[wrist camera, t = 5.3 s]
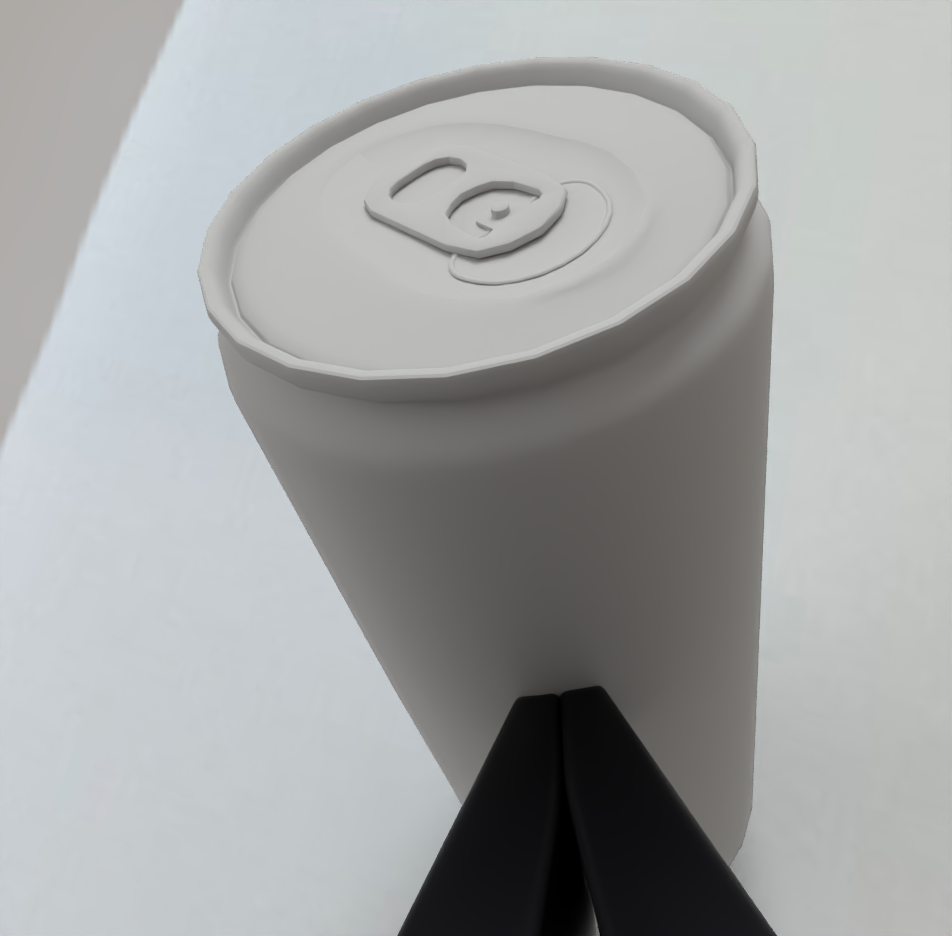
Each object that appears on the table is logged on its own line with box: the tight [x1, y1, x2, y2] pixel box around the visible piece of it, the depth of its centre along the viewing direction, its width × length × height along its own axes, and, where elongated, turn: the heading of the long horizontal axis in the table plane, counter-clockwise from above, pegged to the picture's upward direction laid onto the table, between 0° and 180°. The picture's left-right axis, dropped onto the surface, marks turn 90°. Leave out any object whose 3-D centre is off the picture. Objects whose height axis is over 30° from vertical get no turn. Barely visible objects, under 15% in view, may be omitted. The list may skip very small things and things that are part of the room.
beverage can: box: [198, 57, 774, 927], centre depth 12 cm, size 5×5×12 cm
